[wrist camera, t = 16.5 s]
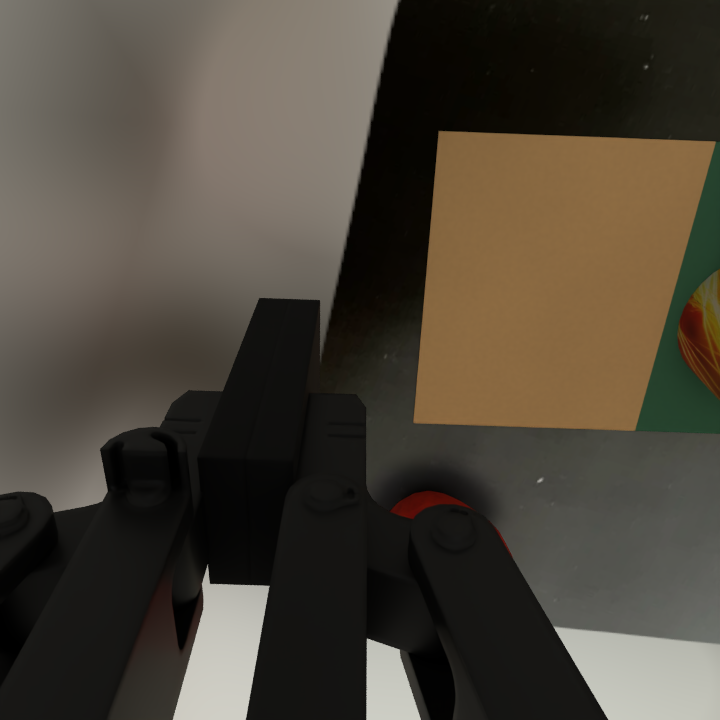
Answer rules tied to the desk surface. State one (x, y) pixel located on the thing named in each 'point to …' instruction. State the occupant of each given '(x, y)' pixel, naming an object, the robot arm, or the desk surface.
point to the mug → (703, 333)
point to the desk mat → (566, 282)
